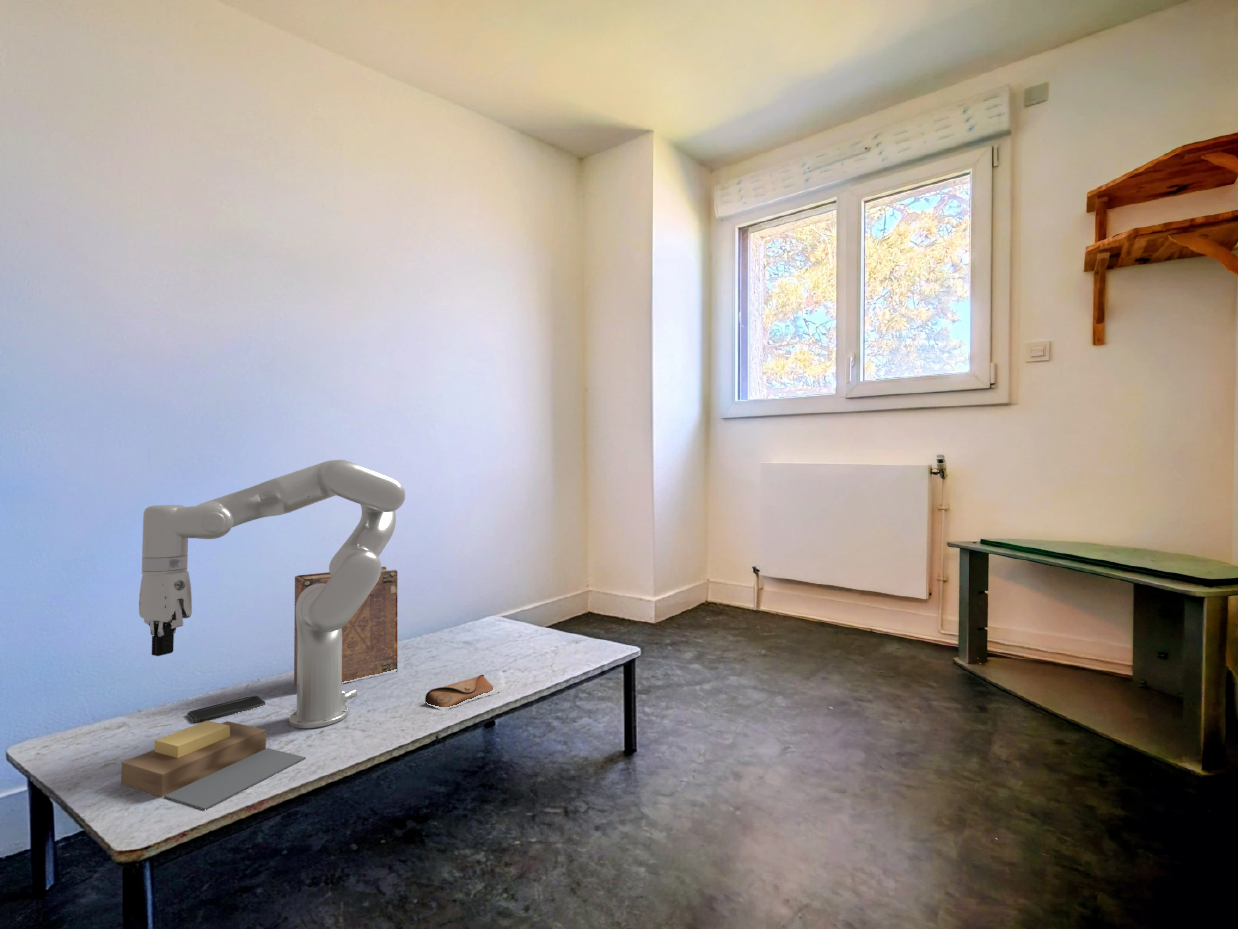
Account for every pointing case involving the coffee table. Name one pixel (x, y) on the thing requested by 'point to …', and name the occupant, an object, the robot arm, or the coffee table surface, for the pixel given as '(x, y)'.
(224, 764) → the brown wooden block
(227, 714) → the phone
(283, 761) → the mat
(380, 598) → the book
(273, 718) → the coffee table surface
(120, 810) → the coffee table surface
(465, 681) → the sunglasses case
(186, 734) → the tile
